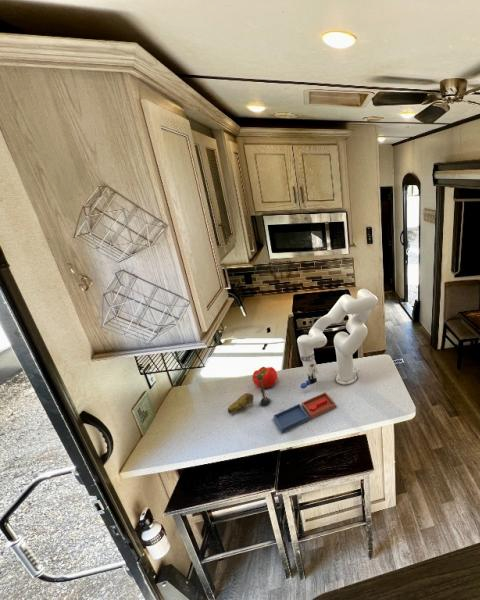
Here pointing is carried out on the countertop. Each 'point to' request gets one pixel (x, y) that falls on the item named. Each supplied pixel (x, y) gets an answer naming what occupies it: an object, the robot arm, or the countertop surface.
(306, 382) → the blue spoon
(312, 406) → the red spoon
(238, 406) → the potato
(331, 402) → the red tray
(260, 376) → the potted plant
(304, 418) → the blue tray
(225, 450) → the countertop surface
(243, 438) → the countertop surface
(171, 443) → the countertop surface
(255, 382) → the tomato
